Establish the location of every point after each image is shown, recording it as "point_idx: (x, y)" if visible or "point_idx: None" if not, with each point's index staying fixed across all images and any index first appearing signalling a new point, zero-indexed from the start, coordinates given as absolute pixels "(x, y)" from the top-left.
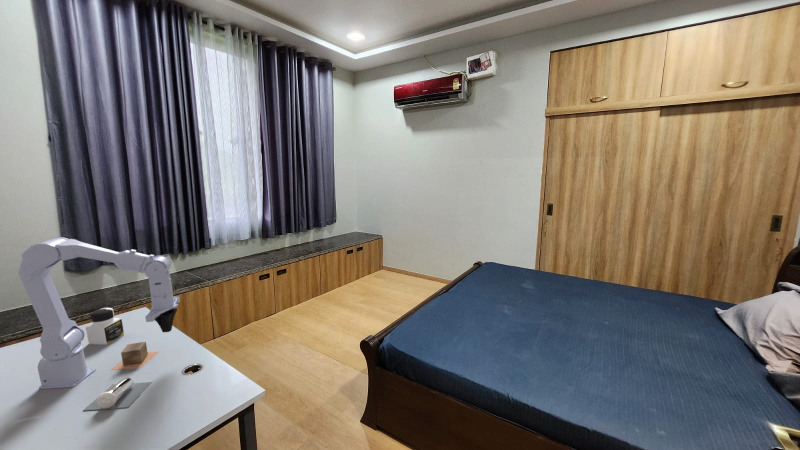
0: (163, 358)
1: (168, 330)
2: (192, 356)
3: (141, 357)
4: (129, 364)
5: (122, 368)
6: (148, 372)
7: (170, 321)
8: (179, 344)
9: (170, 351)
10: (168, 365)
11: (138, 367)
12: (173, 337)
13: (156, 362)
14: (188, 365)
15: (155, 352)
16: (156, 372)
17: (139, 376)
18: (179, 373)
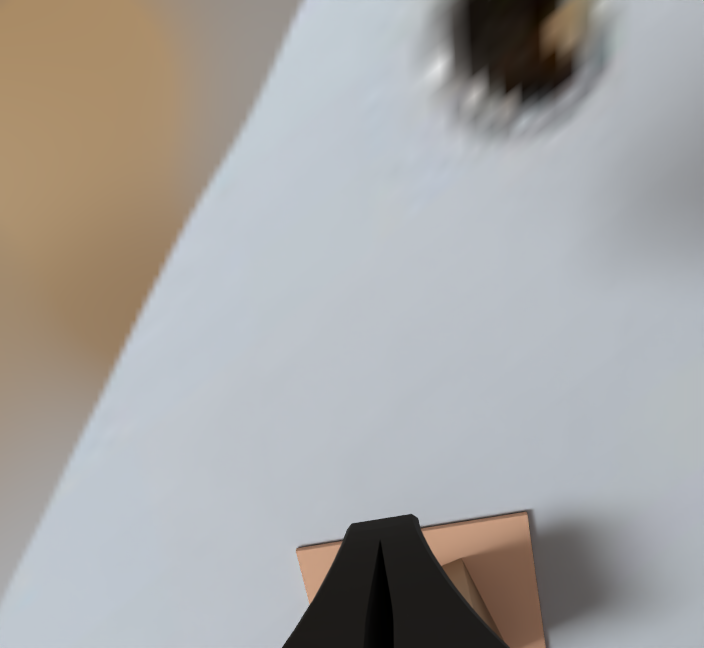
0: (377, 445)
1: (422, 535)
2: (319, 201)
3: (464, 594)
4: (496, 627)
5: (537, 637)
6: (576, 415)
7: (404, 627)
8: (156, 470)
9: (271, 465)
10: (474, 323)
11: (522, 538)
12: (67, 599)
13: (437, 458)
14: (464, 128)
15: (310, 569)
16: (575, 349)
17: (628, 443)
18: (591, 123)
